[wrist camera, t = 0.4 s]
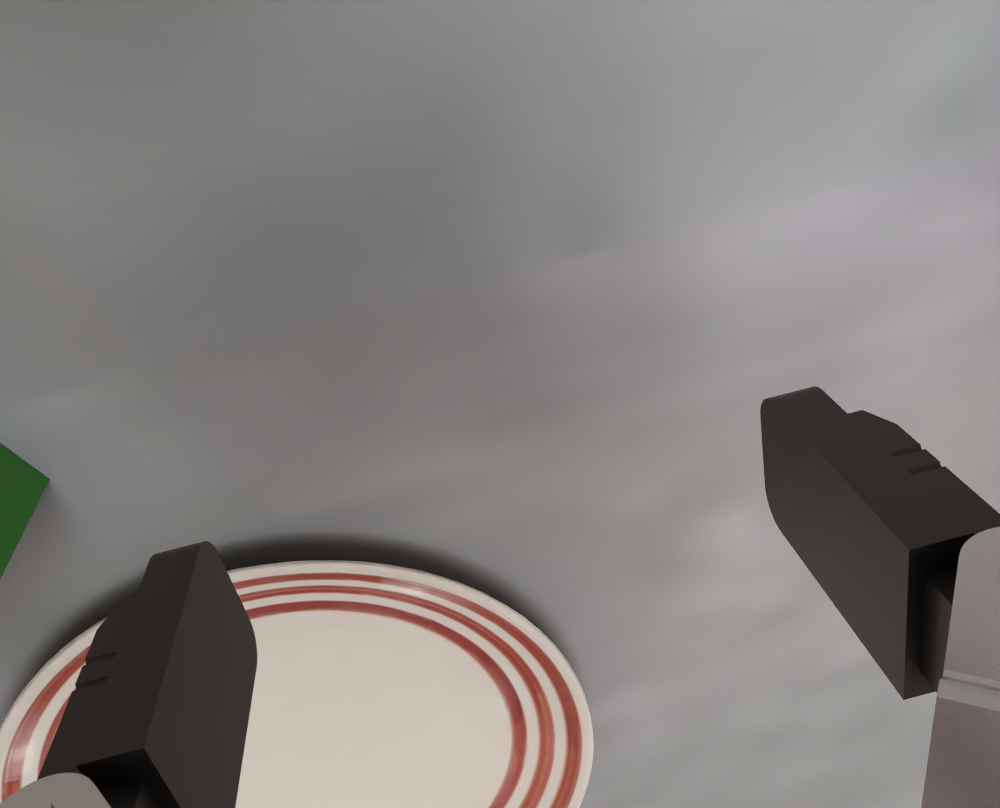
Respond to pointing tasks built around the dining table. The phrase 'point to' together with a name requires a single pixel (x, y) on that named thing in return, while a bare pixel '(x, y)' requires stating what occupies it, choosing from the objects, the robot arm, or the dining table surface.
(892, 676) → the robot arm
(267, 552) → the dining table surface
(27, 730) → the dinner plate
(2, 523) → the hardback book
